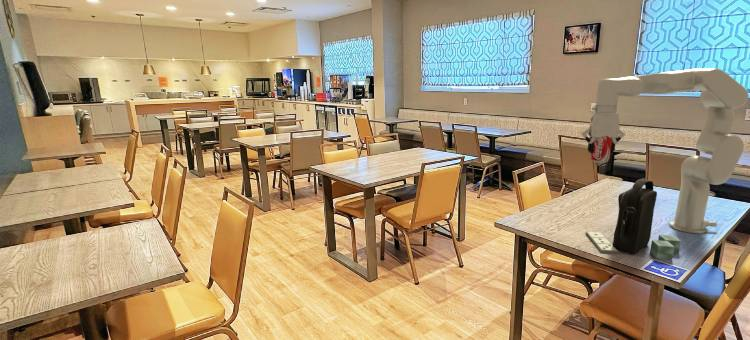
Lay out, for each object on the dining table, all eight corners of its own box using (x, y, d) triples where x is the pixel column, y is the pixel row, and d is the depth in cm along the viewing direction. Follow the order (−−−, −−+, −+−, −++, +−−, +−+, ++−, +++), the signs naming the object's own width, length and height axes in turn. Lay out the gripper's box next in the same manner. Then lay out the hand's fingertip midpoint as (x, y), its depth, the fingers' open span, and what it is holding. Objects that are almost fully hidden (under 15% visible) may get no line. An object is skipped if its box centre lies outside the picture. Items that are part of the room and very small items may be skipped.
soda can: (612, 163, 156) (616, 134, 153) (593, 163, 157) (597, 134, 154) (605, 159, 162) (608, 131, 160) (587, 159, 164) (590, 131, 161)
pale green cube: (671, 247, 146) (673, 235, 145) (678, 253, 142) (681, 241, 140) (657, 246, 147) (659, 234, 146) (663, 252, 143) (665, 240, 141)
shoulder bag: (632, 261, 137) (645, 187, 130) (605, 253, 143) (615, 181, 137) (653, 244, 150) (665, 176, 144) (627, 237, 157) (637, 171, 151)
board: (600, 234, 159) (600, 232, 159) (617, 253, 142) (618, 250, 142) (585, 233, 160) (586, 231, 160) (601, 252, 143) (601, 249, 143)
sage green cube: (665, 253, 142) (667, 241, 141) (672, 259, 137) (674, 246, 136) (649, 252, 143) (651, 240, 142) (656, 258, 138) (658, 245, 137)
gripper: (585, 110, 153) (581, 154, 157) (633, 110, 149) (627, 154, 154) (579, 109, 160) (575, 150, 164) (625, 108, 157) (619, 151, 161)
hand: (600, 152), depth 159 cm, fingers closed on soda can, 7 cm apart
